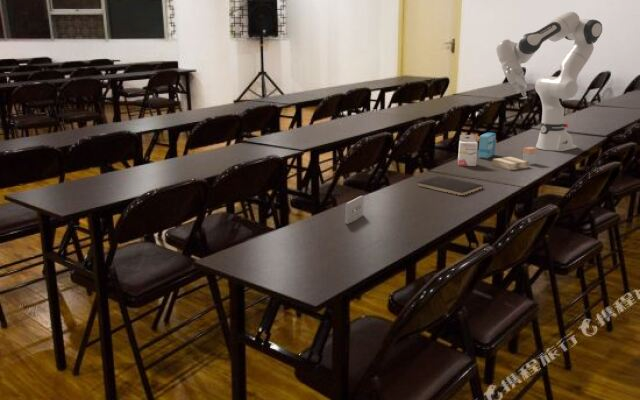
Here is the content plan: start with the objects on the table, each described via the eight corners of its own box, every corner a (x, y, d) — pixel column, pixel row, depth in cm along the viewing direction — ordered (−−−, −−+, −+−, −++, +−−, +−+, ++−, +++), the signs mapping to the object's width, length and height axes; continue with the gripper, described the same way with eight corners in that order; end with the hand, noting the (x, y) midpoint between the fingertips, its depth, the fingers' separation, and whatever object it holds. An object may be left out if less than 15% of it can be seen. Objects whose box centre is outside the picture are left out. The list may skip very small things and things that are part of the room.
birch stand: (511, 162, 297) (511, 156, 296) (528, 167, 286) (528, 161, 285) (492, 164, 292) (492, 159, 291) (509, 170, 282) (509, 164, 281)
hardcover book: (462, 197, 242) (462, 192, 241) (417, 186, 258) (417, 181, 257) (482, 189, 253) (483, 184, 252) (438, 180, 268) (438, 175, 268)
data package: (486, 159, 304) (488, 136, 300) (478, 158, 306) (479, 135, 303) (494, 154, 313) (496, 132, 310) (486, 153, 316) (488, 131, 312)
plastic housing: (529, 162, 297) (531, 146, 294) (535, 163, 293) (536, 148, 291) (521, 163, 295) (523, 147, 292) (527, 164, 291) (529, 149, 289)
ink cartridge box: (458, 165, 291) (460, 136, 287) (457, 163, 296) (459, 134, 291) (476, 166, 290) (478, 136, 286) (474, 163, 295) (476, 134, 290)
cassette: (360, 214, 221) (360, 195, 219) (364, 215, 220) (364, 195, 218) (344, 223, 212) (344, 203, 209) (348, 224, 211) (348, 204, 208)
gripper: (511, 62, 290) (521, 87, 287) (524, 71, 307) (533, 94, 304) (500, 68, 294) (509, 93, 291) (513, 76, 310) (521, 100, 307)
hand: (521, 94), depth 297 cm, fingers open, 8 cm apart
